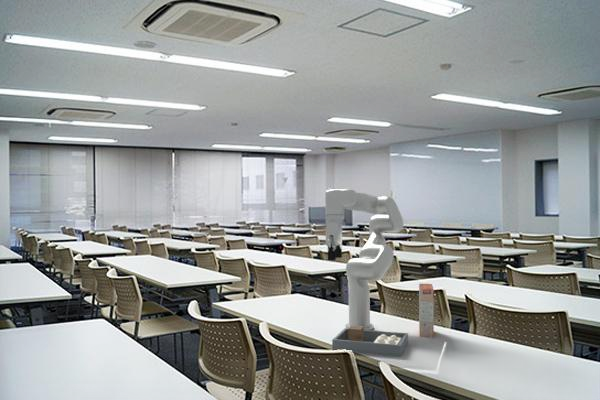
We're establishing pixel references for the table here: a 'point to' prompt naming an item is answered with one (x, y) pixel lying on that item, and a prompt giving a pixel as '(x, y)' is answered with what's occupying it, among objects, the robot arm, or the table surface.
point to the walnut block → (356, 333)
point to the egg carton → (388, 339)
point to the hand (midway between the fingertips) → (335, 258)
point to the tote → (371, 343)
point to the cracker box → (426, 310)
